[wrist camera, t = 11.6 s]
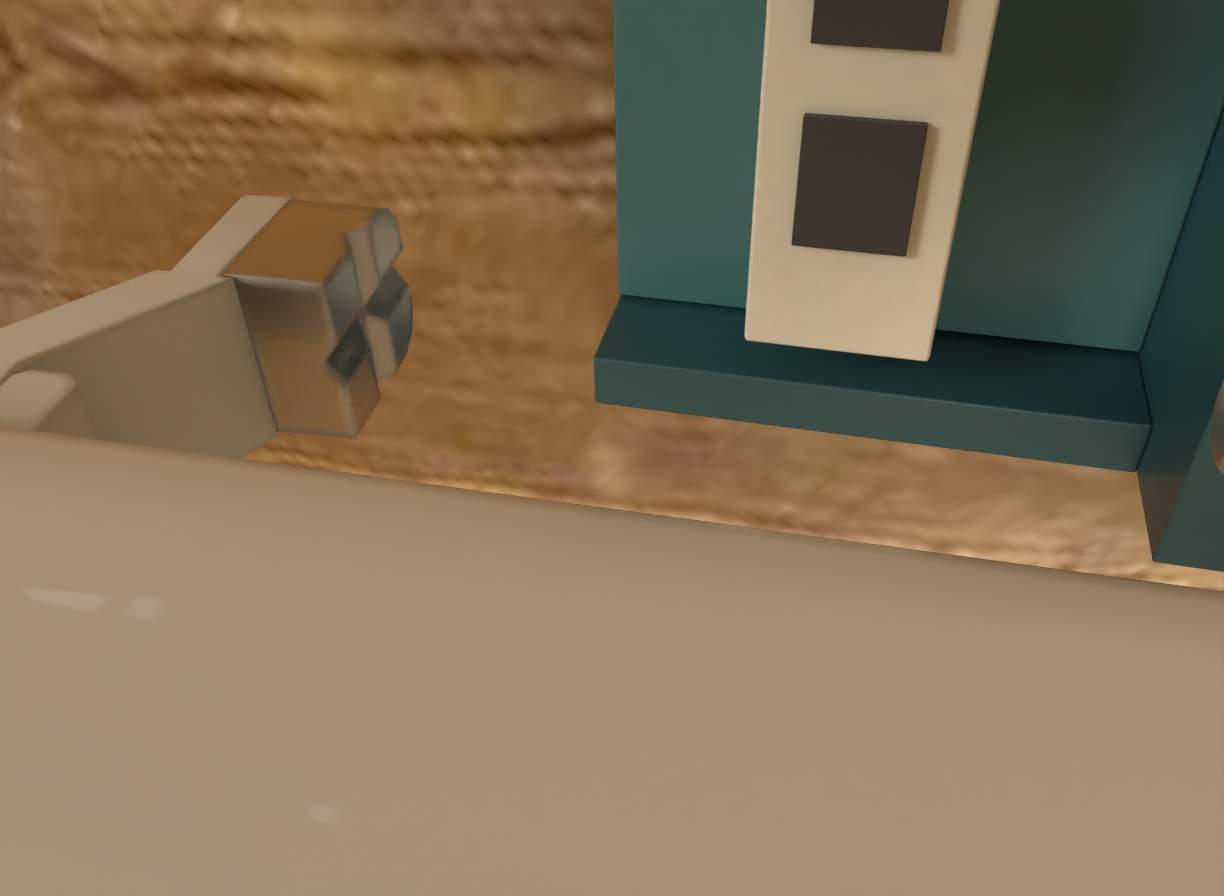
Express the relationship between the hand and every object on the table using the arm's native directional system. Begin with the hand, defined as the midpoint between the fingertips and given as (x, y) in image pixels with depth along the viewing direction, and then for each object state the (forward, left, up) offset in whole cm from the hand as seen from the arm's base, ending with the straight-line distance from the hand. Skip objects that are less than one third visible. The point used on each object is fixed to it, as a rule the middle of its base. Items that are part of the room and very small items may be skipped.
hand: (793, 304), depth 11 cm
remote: (0, 0, -12) cm, 11 cm away
